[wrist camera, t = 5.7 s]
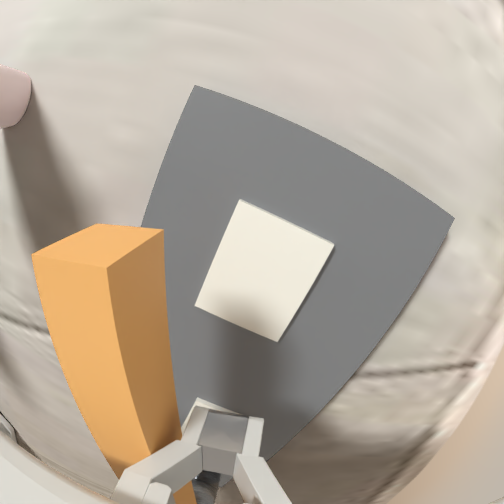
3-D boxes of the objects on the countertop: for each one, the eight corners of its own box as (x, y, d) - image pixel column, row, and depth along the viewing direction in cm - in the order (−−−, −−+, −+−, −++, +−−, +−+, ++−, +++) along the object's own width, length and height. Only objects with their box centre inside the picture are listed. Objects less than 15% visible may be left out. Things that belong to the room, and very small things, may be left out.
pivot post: (222, 482, 20) (211, 529, 15) (171, 464, 20) (154, 510, 15) (243, 464, 19) (232, 519, 14) (184, 444, 19) (165, 499, 13)
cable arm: (216, 530, 15) (209, 559, 12) (168, 519, 15) (159, 547, 12) (206, 230, 7) (146, 290, 4) (74, 219, 7) (-10, 256, 4)
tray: (251, 464, 19) (249, 478, 17) (110, 405, 18) (102, 418, 17) (442, 212, 11) (458, 219, 10) (203, 90, 11) (192, 83, 10)
